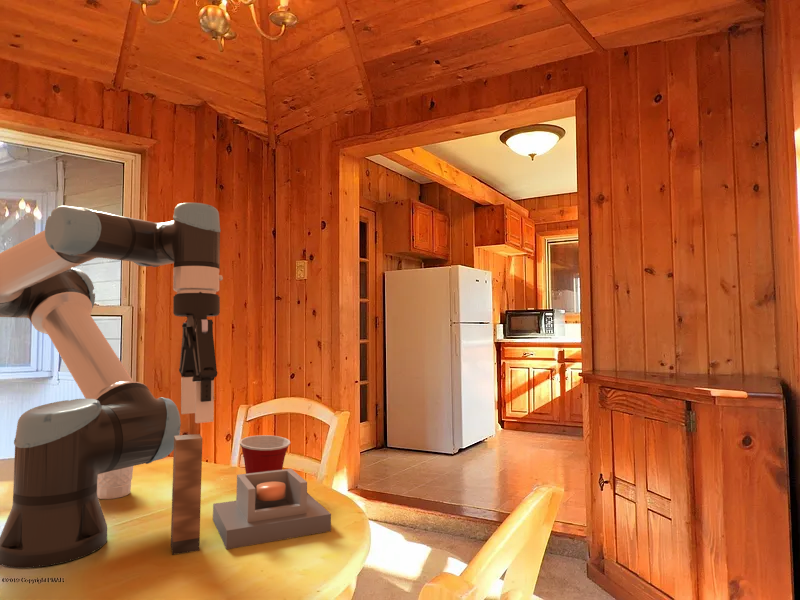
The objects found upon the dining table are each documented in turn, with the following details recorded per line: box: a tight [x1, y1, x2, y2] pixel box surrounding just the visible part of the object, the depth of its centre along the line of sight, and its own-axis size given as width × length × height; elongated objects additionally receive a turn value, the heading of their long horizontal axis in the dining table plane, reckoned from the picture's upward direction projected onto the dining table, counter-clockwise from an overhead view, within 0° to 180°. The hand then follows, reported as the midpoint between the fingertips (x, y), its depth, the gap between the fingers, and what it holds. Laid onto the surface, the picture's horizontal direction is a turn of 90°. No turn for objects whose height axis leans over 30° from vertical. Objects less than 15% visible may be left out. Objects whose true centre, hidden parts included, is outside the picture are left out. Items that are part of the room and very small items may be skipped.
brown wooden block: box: [170, 433, 203, 556], centre depth 88 cm, size 4×4×18 cm
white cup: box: [97, 466, 134, 500], centre depth 116 cm, size 8×8×10 cm
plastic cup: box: [239, 434, 291, 474], centre depth 116 cm, size 11×11×12 cm
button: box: [256, 482, 286, 501], centre depth 99 cm, size 5×5×2 cm
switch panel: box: [212, 468, 332, 550], centre depth 99 cm, size 18×15×8 cm
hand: (196, 417), depth 91 cm, fingers open, 13 cm apart
